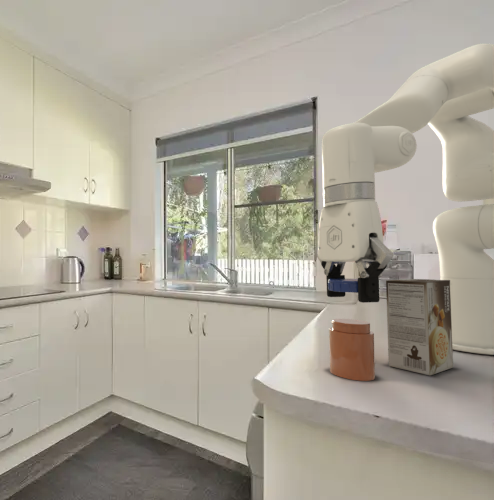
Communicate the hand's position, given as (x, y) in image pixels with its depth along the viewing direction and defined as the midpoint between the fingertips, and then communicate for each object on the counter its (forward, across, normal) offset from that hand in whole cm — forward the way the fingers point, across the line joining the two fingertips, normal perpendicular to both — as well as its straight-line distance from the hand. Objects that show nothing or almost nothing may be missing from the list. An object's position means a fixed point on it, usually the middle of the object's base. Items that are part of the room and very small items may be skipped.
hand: (351, 298), depth 58 cm
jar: (+13, 0, -1) cm, 13 cm away
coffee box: (+14, -2, +15) cm, 20 cm away
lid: (-3, 0, 0) cm, 3 cm away
